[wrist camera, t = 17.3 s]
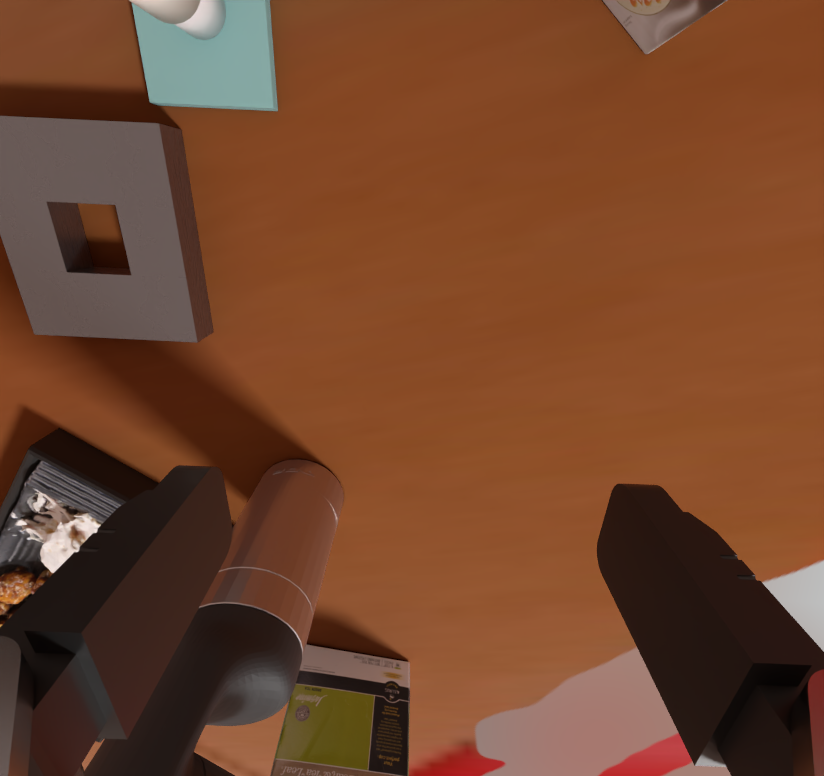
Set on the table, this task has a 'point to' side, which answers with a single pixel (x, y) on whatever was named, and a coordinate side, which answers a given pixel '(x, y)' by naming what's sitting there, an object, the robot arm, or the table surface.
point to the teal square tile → (211, 60)
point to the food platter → (57, 511)
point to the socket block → (139, 221)
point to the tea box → (346, 717)
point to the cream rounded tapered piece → (188, 15)
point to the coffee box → (658, 18)
